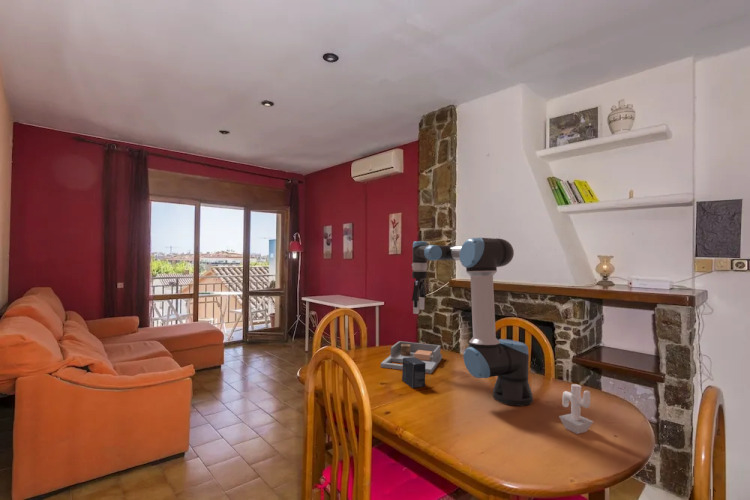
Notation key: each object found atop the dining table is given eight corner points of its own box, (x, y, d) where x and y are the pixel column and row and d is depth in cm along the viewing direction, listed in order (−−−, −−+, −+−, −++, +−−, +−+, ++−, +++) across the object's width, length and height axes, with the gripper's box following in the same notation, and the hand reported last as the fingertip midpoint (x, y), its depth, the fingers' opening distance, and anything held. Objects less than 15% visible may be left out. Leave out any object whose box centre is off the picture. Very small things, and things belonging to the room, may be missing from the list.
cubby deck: (442, 358, 204) (442, 345, 204) (431, 373, 178) (431, 359, 178) (397, 353, 214) (397, 341, 214) (380, 367, 188) (380, 353, 188)
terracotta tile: (432, 356, 200) (432, 351, 200) (429, 361, 192) (429, 355, 192) (418, 355, 203) (418, 349, 203) (414, 359, 195) (414, 353, 195)
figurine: (570, 421, 129) (571, 378, 129) (596, 434, 120) (596, 388, 120) (555, 425, 126) (556, 381, 126) (580, 438, 117) (581, 391, 118)
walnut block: (410, 353, 207) (410, 344, 207) (410, 355, 202) (410, 346, 202) (401, 352, 207) (401, 343, 207) (400, 355, 202) (400, 346, 202)
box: (425, 386, 161) (426, 362, 161) (412, 388, 159) (412, 364, 159) (414, 378, 171) (414, 356, 171) (401, 380, 169) (401, 357, 169)
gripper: (417, 269, 206) (417, 307, 206) (406, 272, 182) (405, 314, 182) (431, 269, 203) (430, 308, 203) (421, 272, 180) (420, 316, 180)
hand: (418, 311), depth 193 cm, fingers open, 13 cm apart
